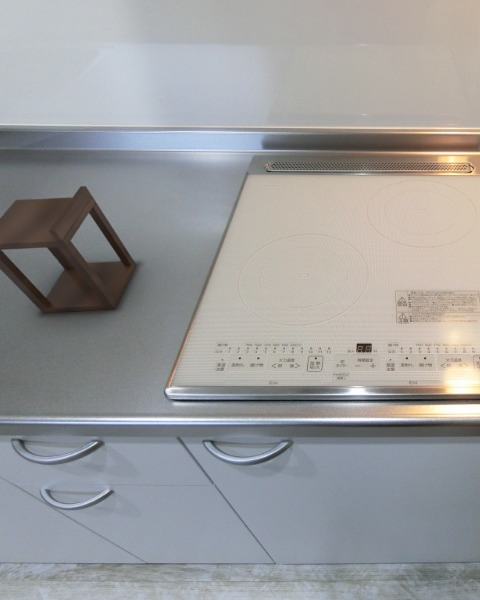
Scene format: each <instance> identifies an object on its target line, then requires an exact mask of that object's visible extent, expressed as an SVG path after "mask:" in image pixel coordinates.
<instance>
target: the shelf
mask: <svg viewBox="0 0 480 600" xmlns="http://www.w3.org/2000/svg"><path fill="white" fill-rule="evenodd" d="M88 215H90V217H91V218H92V220H93V221H94V223H95V224H96V226H97V227H98V229H99V231H100V232H101V233H102V235H103V237H104V238H105V239H106V241H107V242H108V244H109V245H110V246H111V248H112V249H113V251H114V252H115V254H116V255H117V257H118V259H119V260H120V261H117V260H116V261H97V262H88V261H86V259H85V257H84V256H83V255H82V254H81V252H80V251H79V250H78V248H77V247H76V246H75V245H74V243H73V242H72V240H73V238H74V236H75V235H76V233H77V232H78V231H79V229H80V227H81V226H82V224H83V223H84V221H85V219H86V218H87V217H88ZM43 248H45V249H48V251H49V252H50V254H52V256H53V257H54V258H55V260H56V261H57V262H58V263H59V264H60V265H61V267H62V268H63V271H62V272H61V274H60V275H59V277H58V278H57V280H56V281H55V283H54V285H53V286H52V288H51V290H50V291H49V293H48V294H47V296H45V295H44V294H43V293H42V292H41V291H40V290H39V288H38V287H36V286H35V284H34V283H33V282H32V281H31V280H30V279H29V278H28V277H27V276H26V275H25V273H23V271H21V269H20V268H19V267H17V265H16V264H15V263H14V262H13V261H12V259H10V258H9V257H8V256H7V254H5V252H4V251H5V250H23V249H24V250H25V249H27V250H28V249H43ZM136 266H137V264H136V262H135V260H134V258H133V257H132V255H131V254H130V253H129V251H128V249H127V248H126V246H125V244H124V243H123V242H122V240H121V238H120V237H119V235H118V233H117V232H116V231H115V229H114V228H113V226H112V225H111V223H110V221H109V220H108V218H107V216H106V215H105V213H104V212H103V210H102V209H101V207H100V206H99V204H98V202H97V201H96V200H95V198H94V196H93V195H92V193H91V192H90V190H89V189H88V187H87V186H86V185H81V186H79V188H78V189H77V191H76V192H75V193H74V195H73V196H72V197H71V196H70V197H50V198H28V199H27V198H26V199H15V200H14V201H13V202H12V204H11V205H10V206H9V207H8V208H7V209H6V211H5V212H4V213H3V214H2V215H1V216H0V271H1V272H2V273H3V274H4V275H5V276H6V277H7V278H8V279H9V280H10V281H11V282H12V283H13V284H14V285H15V286H16V287H17V288H18V289H19V290H20V291H21V292H22V293H23V294H24V295H25V296H26V297H27V298H28V299H29V300H30V301H31V302H32V303H33V304H34V305H35V306H36V307H37V309H39V311H41V312H42V314H48V313H49V314H50V313H66V312H67V313H69V312H85V311H103V310H116V308H117V306H118V304H119V302H120V300H121V298H122V296H123V293H124V291H125V289H126V287H127V285H128V283H129V282H130V279H131V277H132V275H133V273H134V271H135V268H136Z"/></svg>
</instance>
